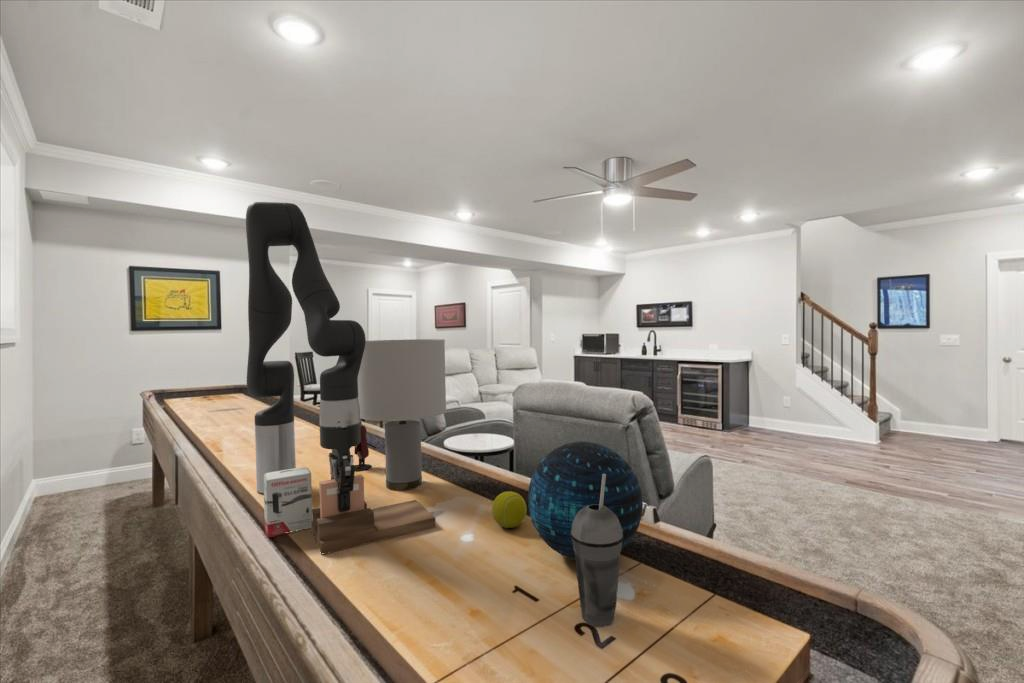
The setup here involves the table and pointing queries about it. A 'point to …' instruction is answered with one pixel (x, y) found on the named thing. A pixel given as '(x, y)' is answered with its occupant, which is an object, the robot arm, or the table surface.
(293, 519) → the ink box
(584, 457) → the decorative sphere
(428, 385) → the lamp
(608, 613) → the beverage cup
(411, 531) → the block
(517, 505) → the tennis ball
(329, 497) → the stub
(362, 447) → the figurine
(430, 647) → the table surface
